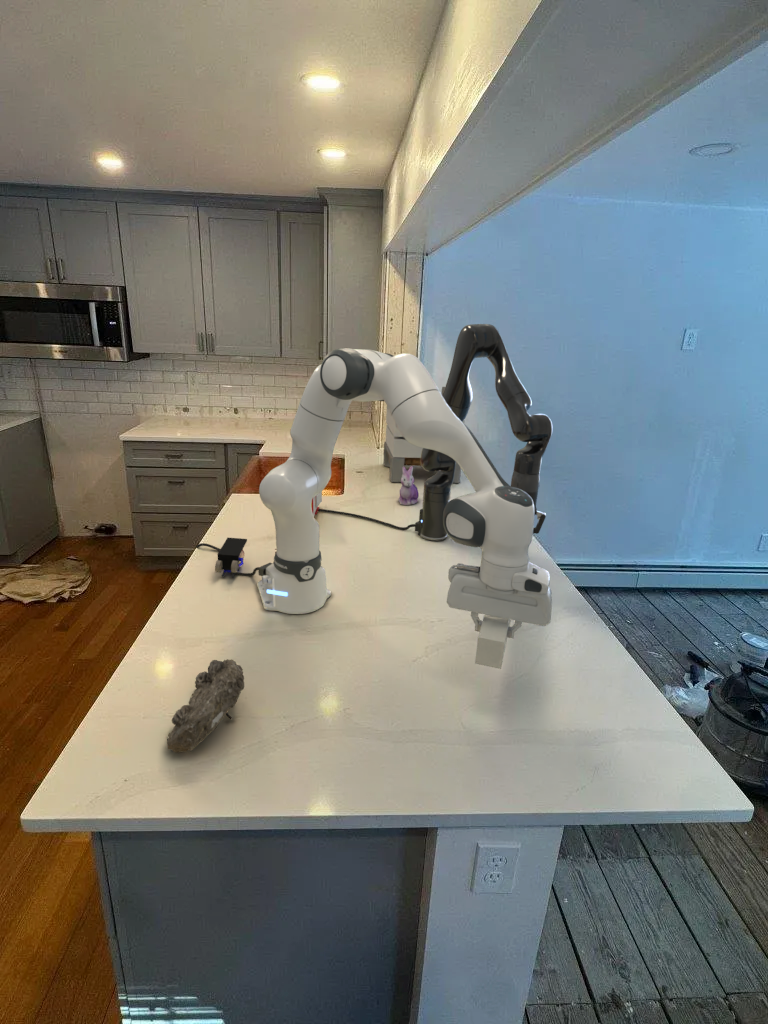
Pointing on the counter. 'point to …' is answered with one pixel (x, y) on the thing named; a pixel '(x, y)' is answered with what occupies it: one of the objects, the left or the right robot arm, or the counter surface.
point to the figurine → (408, 488)
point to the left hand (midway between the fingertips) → (494, 633)
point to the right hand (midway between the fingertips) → (516, 543)
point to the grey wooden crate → (403, 451)
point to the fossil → (206, 705)
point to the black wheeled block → (230, 556)
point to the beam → (492, 641)
